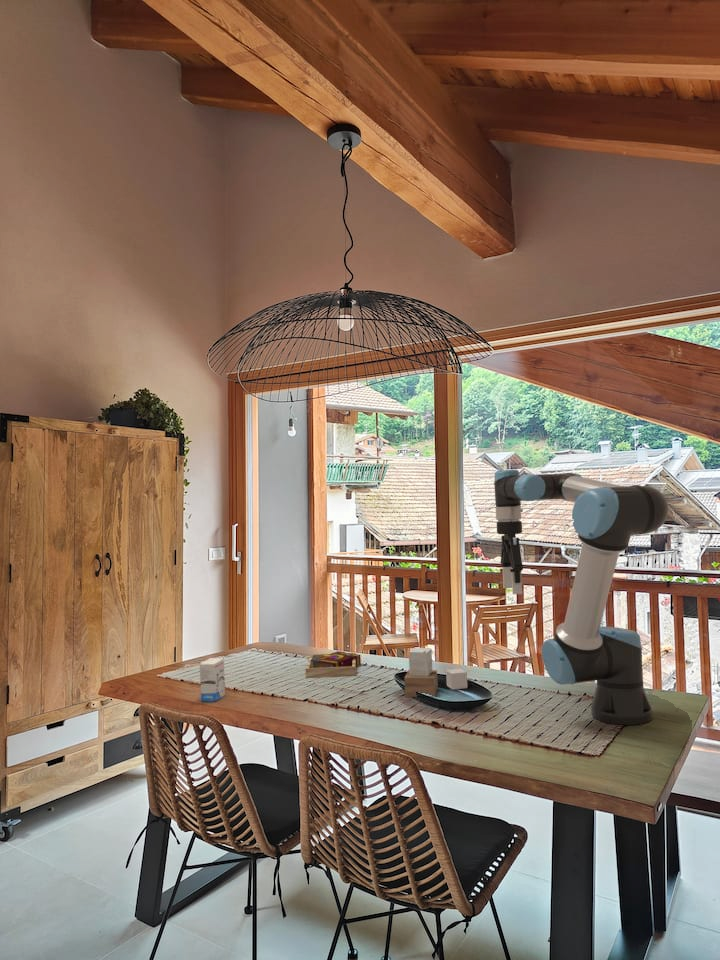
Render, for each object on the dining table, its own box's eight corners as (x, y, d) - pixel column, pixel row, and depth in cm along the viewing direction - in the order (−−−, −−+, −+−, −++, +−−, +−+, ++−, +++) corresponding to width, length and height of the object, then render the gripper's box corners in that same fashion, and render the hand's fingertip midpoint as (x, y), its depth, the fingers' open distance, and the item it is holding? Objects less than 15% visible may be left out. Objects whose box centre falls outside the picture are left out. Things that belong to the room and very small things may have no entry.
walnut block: (434, 697, 208) (433, 677, 209) (405, 697, 210) (404, 677, 211) (437, 689, 217) (436, 670, 217) (409, 689, 219) (408, 669, 219)
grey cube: (467, 688, 217) (466, 672, 217) (452, 689, 215) (451, 673, 216) (461, 684, 221) (460, 668, 222) (446, 685, 220) (446, 670, 220)
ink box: (215, 702, 213) (213, 663, 214) (200, 702, 214) (198, 663, 215) (226, 694, 222) (224, 657, 222) (211, 694, 223) (210, 657, 223)
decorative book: (361, 666, 252) (361, 652, 252) (332, 676, 239) (332, 662, 240) (338, 663, 259) (337, 649, 259) (308, 672, 246) (308, 658, 247)
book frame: (355, 675, 238) (354, 666, 238) (306, 677, 238) (305, 669, 238) (356, 660, 260) (355, 652, 260) (311, 662, 260) (310, 654, 260)
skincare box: (413, 670, 218) (412, 647, 218) (432, 671, 216) (431, 647, 216) (409, 675, 212) (408, 651, 212) (428, 676, 210) (427, 652, 210)
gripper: (531, 521, 197) (535, 596, 197) (512, 518, 222) (516, 585, 222) (504, 522, 197) (508, 597, 197) (489, 520, 222) (492, 586, 222)
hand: (512, 591), depth 209 cm, fingers open, 13 cm apart
